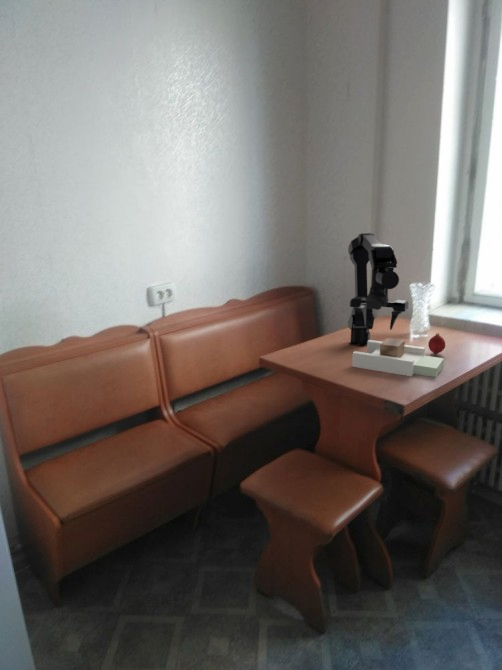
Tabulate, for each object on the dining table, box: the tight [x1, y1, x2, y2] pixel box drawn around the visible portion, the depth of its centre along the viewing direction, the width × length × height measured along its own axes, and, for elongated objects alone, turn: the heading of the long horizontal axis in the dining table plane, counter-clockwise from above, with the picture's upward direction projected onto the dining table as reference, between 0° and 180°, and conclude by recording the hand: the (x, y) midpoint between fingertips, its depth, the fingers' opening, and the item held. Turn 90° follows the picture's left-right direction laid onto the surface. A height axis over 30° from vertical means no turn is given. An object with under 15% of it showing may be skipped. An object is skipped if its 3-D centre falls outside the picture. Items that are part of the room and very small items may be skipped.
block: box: [380, 337, 406, 358], centre depth 171 cm, size 6×8×5 cm
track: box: [351, 339, 426, 377], centre depth 172 cm, size 20×17×5 cm
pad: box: [413, 355, 445, 378], centre depth 166 cm, size 7×11×3 cm, turn 148°
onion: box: [427, 332, 446, 355], centre depth 180 cm, size 6×6×8 cm
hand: (377, 328), depth 173 cm, fingers open, 9 cm apart
